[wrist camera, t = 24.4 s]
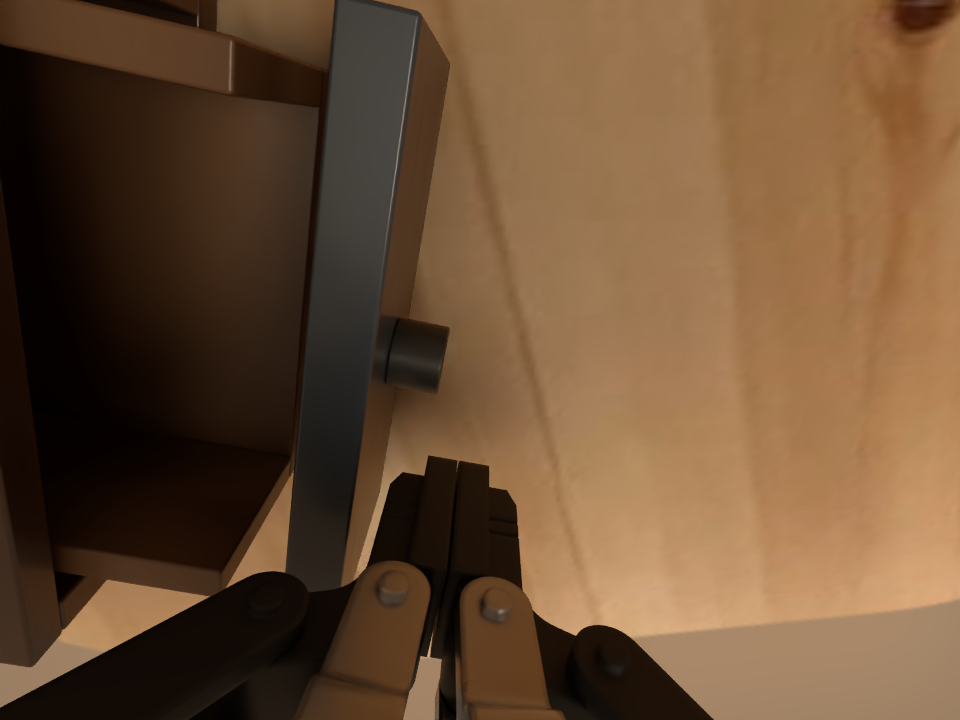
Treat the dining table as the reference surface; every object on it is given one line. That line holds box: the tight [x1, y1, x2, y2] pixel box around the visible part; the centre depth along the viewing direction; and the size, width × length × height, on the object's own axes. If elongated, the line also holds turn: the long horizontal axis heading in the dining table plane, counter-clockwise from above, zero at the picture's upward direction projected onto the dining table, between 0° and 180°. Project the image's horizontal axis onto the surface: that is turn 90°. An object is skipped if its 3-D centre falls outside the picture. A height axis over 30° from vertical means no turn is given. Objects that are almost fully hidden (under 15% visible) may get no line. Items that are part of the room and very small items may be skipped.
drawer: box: [0, 0, 450, 596], centre depth 12 cm, size 15×13×6 cm
